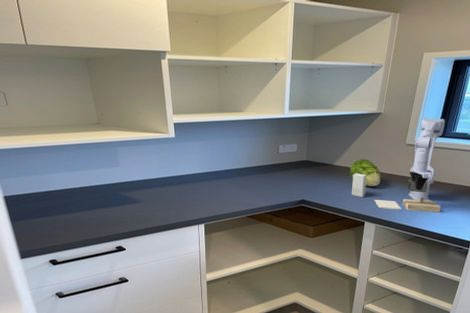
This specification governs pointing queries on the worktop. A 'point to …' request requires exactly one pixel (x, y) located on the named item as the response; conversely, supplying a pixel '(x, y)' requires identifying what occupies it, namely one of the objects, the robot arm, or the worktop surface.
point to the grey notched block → (413, 186)
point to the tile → (387, 204)
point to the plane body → (421, 205)
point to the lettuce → (366, 171)
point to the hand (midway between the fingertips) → (416, 188)
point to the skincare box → (359, 185)
